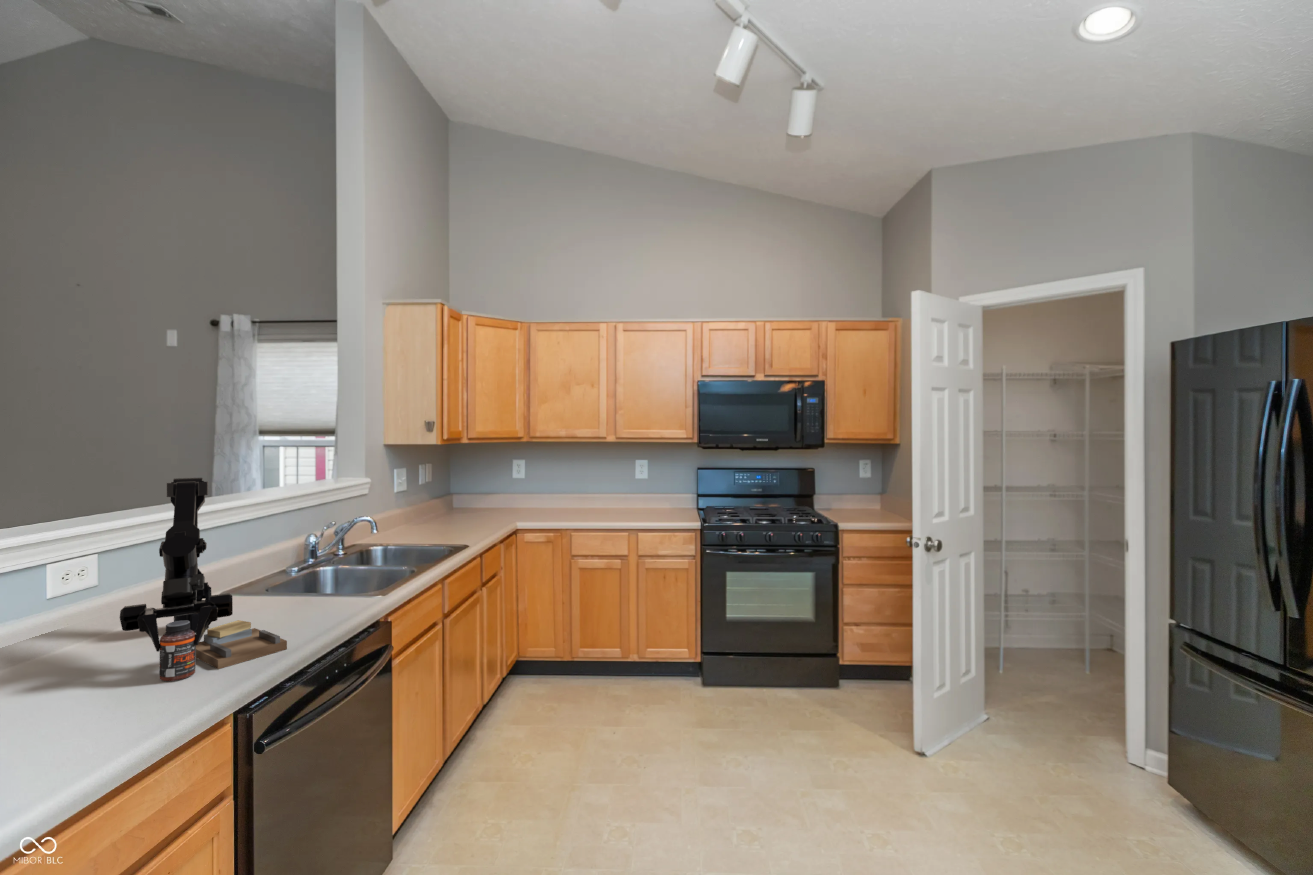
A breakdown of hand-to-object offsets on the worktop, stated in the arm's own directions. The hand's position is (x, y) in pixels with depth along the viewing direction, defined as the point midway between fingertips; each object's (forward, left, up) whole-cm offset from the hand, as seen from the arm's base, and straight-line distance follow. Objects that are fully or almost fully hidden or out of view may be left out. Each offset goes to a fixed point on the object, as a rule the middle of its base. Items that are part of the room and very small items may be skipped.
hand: (177, 647), depth 123 cm
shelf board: (-4, +15, -7) cm, 17 cm away
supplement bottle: (-1, +1, -7) cm, 7 cm away
